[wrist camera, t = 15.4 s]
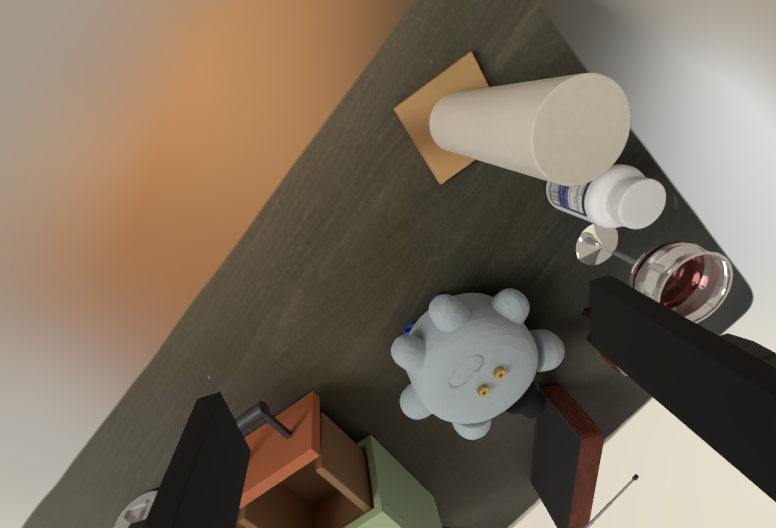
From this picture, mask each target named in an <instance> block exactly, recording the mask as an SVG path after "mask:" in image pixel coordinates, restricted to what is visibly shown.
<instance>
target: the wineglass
mask: <svg viewBox="0 0 776 528" xmlns="http://www.w3.org/2000/svg"><path fill="white" fill-rule="evenodd" d="M617 243H618V233H617V230H616V229H615V228H605V227H601V226H598V225H595V224H592V225H590V226H589V227H587V228H586V229H585V230H584V231H583V232H582V234H581V235H580V237H579V238H578V241H577V244H576V254H577V257H578V259H579V260H580V261H581V262H582V263H584V264H586V265H596V264H600V263H602V262H604V261H606V260H607V259H608V258H609V257H610V256H611V255H612V254H613V255H615V256H617V257H619V258H620V259H622V260H624V261H626V262H628V263H629V264H631V265H633V267H632V270H631V273H630V280H629V286H630V287H632V288H634V289H636V290H637V291H639V292H641V293H643V294H645V295H646V296H648V297H650V298H652V299H654V300H655V301H657V302H659V303H661V304H662V305H664V306H666V307H668V308H670V309H671V310H673V311H675V312H677V313H678V314H680V315H682V316H684V317H686V318H687V319H689V320H691V321H693V322H695V323H698V322H700V321H702V320H704V319H706V318H707V317H708V316H709V315H711V314H712V313H713V312H714V311H715V310H717V308H718V307H719V306H720V305H721V303H722V302H723V301H724V300H725V298H726V296H727V294H728V292H729V290H730V288H731V283H732V278H733V272H732V266H731V264H730V262H729V261H728V259H727V258H726V257H725V256H723V255H721V254H720V253H716V252H708V251H707V250H705V249H703V248H702V247H700V246H698V245H697V244H693V243H691V242H684V241H671V242H665V243H661V244H658V245H656V246H654V247H652V248H650V249H649V250H647V251H646V252H645V253H643V254H642V255H641V256H640V257H639V258H638V259H637V258H634V257H632V256H629V255H627V254H624V253H622V252H619V251H617V250H615V249H616V246H617Z"/></svg>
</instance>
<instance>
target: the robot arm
mask: <svg viewBox="0 0 776 528" xmlns="http://www.w3.org/2000/svg"><path fill="white" fill-rule="evenodd" d="M590 307H591V337H592V346H594V347H595V348H596V349H597V350H598V351H599V352H601V353H602V354H603V355H604V356H605V357H607V358H608V359H609V360H610V361H611V362H612V363H614V364H615V365H616V366H617V367H618V368H619V369H621V370H622V371H623V372H624V373H625V374H626V375H628V376H629V377H630V378H631V379H632V380H633V381H635V382H636V383H637V384H638V385H639V386H640V387H642V388H643V389H644V390H645V391H646V392H647V393H649V394H650V395H651V396H652V397H653V398H655V399H656V400H657V401H658V402H659V403H660V404H662V405H663V406H664V407H665V408H666V409H667V410H669V411H670V412H671V413H672V414H673V415H675V416H676V417H677V418H678V419H679V420H680V421H681V422H683V423H684V424H685V425H686V426H687V427H688V428H690V429H691V430H692V431H693V432H694V433H696V434H697V435H698V436H699V437H700V438H701V439H702V440H704V441H705V442H706V443H708V445H709V446H711V447H712V448H713V449H714V450H715V451H717V452H718V453H719V454H720V455H721V456H722V457H724V458H725V459H726V460H727V461H728V462H729V463H731V464H732V465H733V466H734V467H735V468H736V469H738V470H739V471H740V472H741V473H742V474H743V475H745V476H746V477H747V478H748V479H749V480H751V481H752V482H753V483H754V484H755V485H756V486H758V487H759V488H760V489H761V490H762V491H763V492H765V493H766V494H767V495H768V496H769V497H770V498H772V499H773V500H774V501H775V502H776V354H775V352H772V351H771V350H769V349H767V348H765V347H763V346H761V345H759V344H758V343H755V342H754V341H751V340H747V339H744V338H741V337H738V336H734V335H731V334H725V335H721V336H718V335H716V334H714V333H712V332H711V331H709V330H707V329H705V328H703V327H702V326H700V325H698V324H696V323H695V322H693V321H691V320H689V319H687V318H686V317H684V316H682V315H680V314H678V313H677V312H675V311H673V310H671V309H670V308H668V307H666V306H664V305H662V304H661V303H659V302H657V301H655V300H654V299H652V298H650V297H648V296H646V295H645V294H643V293H641V292H639V291H637V290H636V289H634V288H632V287H630V286H629V285H627V284H625V283H623V282H621V281H620V280H618V279H616V278H614V277H612V276H611V275H608V276H605V277H602V278H598V279H595V280H592V281H590ZM250 454H251V450H250V448H249V446H248V444H247V442H246V440H245V438H244V436H243V434H242V433H241V431H240V429H239V427H238V425H237V423H236V421H235V419H234V417H233V415H232V413H231V412H230V410H229V408H228V406H227V404H226V402H225V400H224V398H223V396H222V394H221V392H218V393H215V394H212V395H208V396H205V397H202V398H198V399H197V401H196V403H195V405H194V408H193V410H192V412H191V415H190V417H189V419H188V422H187V424H186V426H185V429H184V431H183V433H182V436H181V438H180V440H179V443H178V445H177V447H176V450H175V452H174V454H173V457H172V459H171V461H170V464H169V466H168V468H167V471H166V473H165V475H164V478H163V480H162V482H161V485H160V487H159V489H158V492H157V494H156V496H155V499H154V501H153V504H152V506H151V508H150V511H149V513H148V515H147V518H146V519H144V520H141V521H138V522H135V523H131V524H130V525H129V527H128V528H236V523H237V518H238V513H239V508H240V503H241V498H242V493H243V488H244V483H245V478H246V474H247V469H248V464H249V459H250Z"/></svg>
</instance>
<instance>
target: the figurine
mask: <svg viewBox="0 0 776 528" xmlns="http://www.w3.org/2000/svg"><path fill="white" fill-rule="evenodd" d="M529 309H530V306H529V302H528V300H527V298H526V297H525V296H524V295H523V294H522V293H521V292H519V291H518V290H515V289H512V288H511V289H504V290H502V291H500V292H499V293H498V294H497V295H495V297H492V296H489V295H486V294H480V293H465V294H459V295H455V296H451V295H449V294H442V295H439V296H438V295H436V296H434V297H433V299H432V301H431V303H430V305H429V310H428V311H427V312H426V313H425V314H423V315H422V316H421V317H420V318H419V319H418V321H417V322H416V323H413V324H410V325H408V326H406V327H405V328H404V330H403V333H404V334H405V335H401V336H399V337H398V338H396V339H395V341H394V343H393V344H392V348H391V354H392V357H393V359H394V361H395V362H396V363H397V364H398V365H399V366H400V367H402V368H404V369H406V371H407V374H408V376H409V378H410V381H411V383H410V384H409V385H408V386H407V387H406V388H405V389H404V391H403V392H402V394H401V396H400V406H401V409H402V411H403V412H404V413H405V414H406V415H407V416H408V417H410V418H412V419H416V420H419V419H423V418H426V417H427V416H429V415H431V414H434V415H436V416H437V417H439V418H440V419H443V420H446V421H449V422H452V424H453V426H454V428H455V430H456V431H457V432H458V434H459V435H461V436H462V437H464V438H466V439H470V440H475V439H479V438H481V437H483V436H484V435H485V434H486V433H487V432H488V431H489V429H490V426H491V418H494V417H495V416H497V415H499V414H500V413H502V412H504V411H507V412H508V413H511V414H520V413H521V414H522V415H524V416H526V417H528V418H533V419H534V418H537V417H539V416H540V415H542V413H543V412H544V411H545V408H546V399H545V397H544V395H543V394H542V393H541V392H540V391H538V390H537V389H536V387H535V384H534V382H533V379H534V376H535V373H536V371H537V372H543V371H549V370H552V369H554V368H556V367H557V366H558V365H559V364H560V363H561V361H562V360H563V358H564V354H565V349H564V344H563V342H562V341H561V339H560V338H559V337H558V336H557V335H555V334H554V333H552V332H550V331H548V330H543V329H538V330H530V331H529V330H528V329H527V327H526V326H525V325H524V324H523V322H524V321H525V319H526V317H527V316H528V314H529Z"/></svg>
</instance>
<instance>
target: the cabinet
mask: <svg viewBox="0 0 776 528" xmlns="http://www.w3.org/2000/svg"><path fill="white" fill-rule="evenodd" d="M357 445H358V446H359V447H360V448H361V449H362V450H363V451H364V452H365V453H366V454H367V458H368V465H369V472H370V479H371V487H372V494H373V501H374V507H375V508H373V509H372V510H370V511H368V512H367V513H365V514H364V515H362V516H361V517H359V518H358V519H356V520H354V521H353V522H351V523H350V524H348V525H347V526H345V527H344V528H442V524H441V521H440V518H439V514H438V511H437V507H436V504H435V500H434V497H433V496H432V495H431V494H430V493H429V492H428V491H427V490H426V489H425V488H424V487H423V486H422V485H421V484H420V483H419V482H418V481H417V480H416V479H415V478H414V477H413V476H412V475H411V474H410V473H409V472H408V471H407V470H406V469H405V468H404V467H403V466H402V465H401V464H400V463H399V462H398V461H397V460H396V459H395V458H394V457H393V456H392V455H391V454H390V453H389V452H388V451H387V450H386V449H385V448H384V447H383V446H382V445H381V444H380V443H379V442H378V441H377V440H376V439H375V438H374V437H373V436H372V435H369V436H368V437H366V438H365V439H363V440H362V441H360V442H359V443H357Z"/></svg>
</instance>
